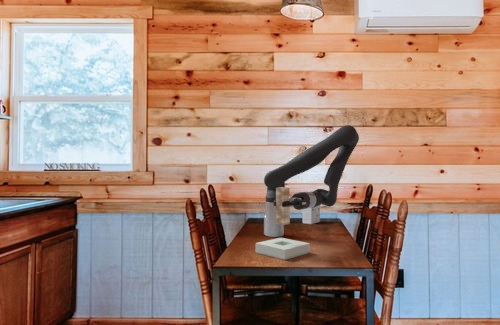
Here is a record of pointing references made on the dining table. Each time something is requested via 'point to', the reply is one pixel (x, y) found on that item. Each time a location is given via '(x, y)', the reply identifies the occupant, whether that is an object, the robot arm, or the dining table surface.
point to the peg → (281, 212)
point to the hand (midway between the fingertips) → (278, 203)
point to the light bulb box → (311, 215)
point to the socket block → (282, 248)
